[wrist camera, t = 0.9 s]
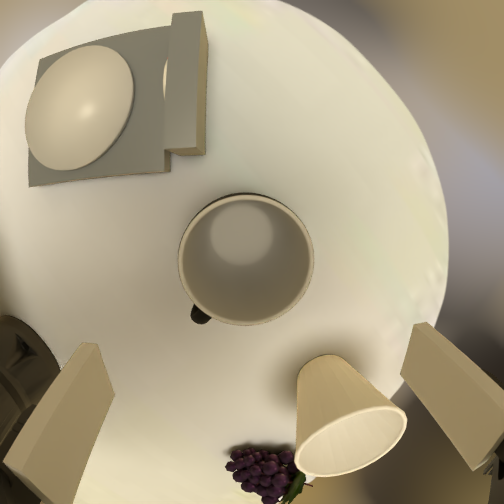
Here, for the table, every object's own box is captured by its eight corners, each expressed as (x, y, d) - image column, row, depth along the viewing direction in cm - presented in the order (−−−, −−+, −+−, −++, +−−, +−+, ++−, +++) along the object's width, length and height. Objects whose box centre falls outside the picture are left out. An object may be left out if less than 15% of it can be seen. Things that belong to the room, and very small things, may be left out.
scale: (41, 185, 25) (2, 191, 18) (50, 65, 21) (17, 48, 14) (205, 170, 26) (195, 167, 19) (209, 33, 22) (203, -2, 16)
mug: (229, 169, 26) (227, 165, 17) (304, 222, 28) (341, 246, 18) (164, 270, 28) (134, 315, 19) (237, 314, 30) (239, 374, 20)
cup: (263, 399, 34) (274, 476, 22) (301, 327, 31) (334, 402, 19) (338, 410, 36) (365, 475, 24) (380, 346, 33) (428, 407, 21)
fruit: (243, 424, 39) (327, 449, 37) (221, 462, 39) (298, 485, 38) (233, 464, 29) (334, 490, 27) (208, 501, 29) (299, 524, 28)
